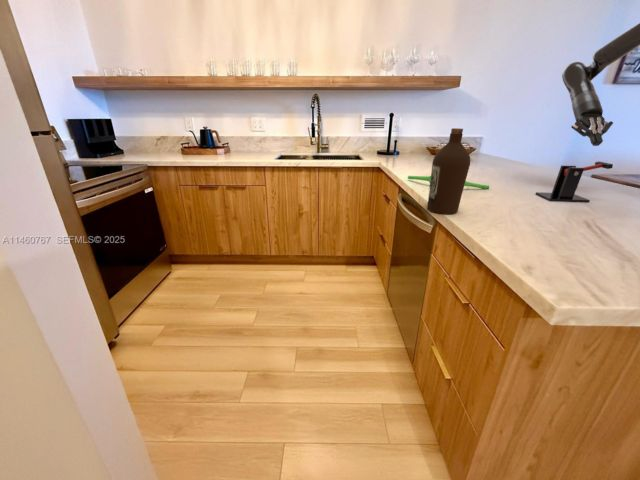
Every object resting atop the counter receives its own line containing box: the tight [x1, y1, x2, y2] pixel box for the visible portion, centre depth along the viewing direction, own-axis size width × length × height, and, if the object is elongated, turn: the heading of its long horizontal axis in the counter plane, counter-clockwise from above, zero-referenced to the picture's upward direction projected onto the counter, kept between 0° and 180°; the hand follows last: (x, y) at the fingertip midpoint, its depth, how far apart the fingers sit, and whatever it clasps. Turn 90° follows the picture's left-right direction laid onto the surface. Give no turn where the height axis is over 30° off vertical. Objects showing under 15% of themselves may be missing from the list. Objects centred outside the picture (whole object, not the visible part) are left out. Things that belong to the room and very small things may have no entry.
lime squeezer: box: [407, 175, 490, 190], centre depth 121 cm, size 34×12×6 cm, turn 59°
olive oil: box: [426, 127, 471, 215], centre depth 89 cm, size 11×11×25 cm
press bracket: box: [534, 165, 591, 204], centre depth 103 cm, size 13×9×12 cm
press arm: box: [564, 161, 613, 176], centre depth 100 cm, size 12×6×2 cm, turn 83°
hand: (597, 144), depth 102 cm, fingers closed
